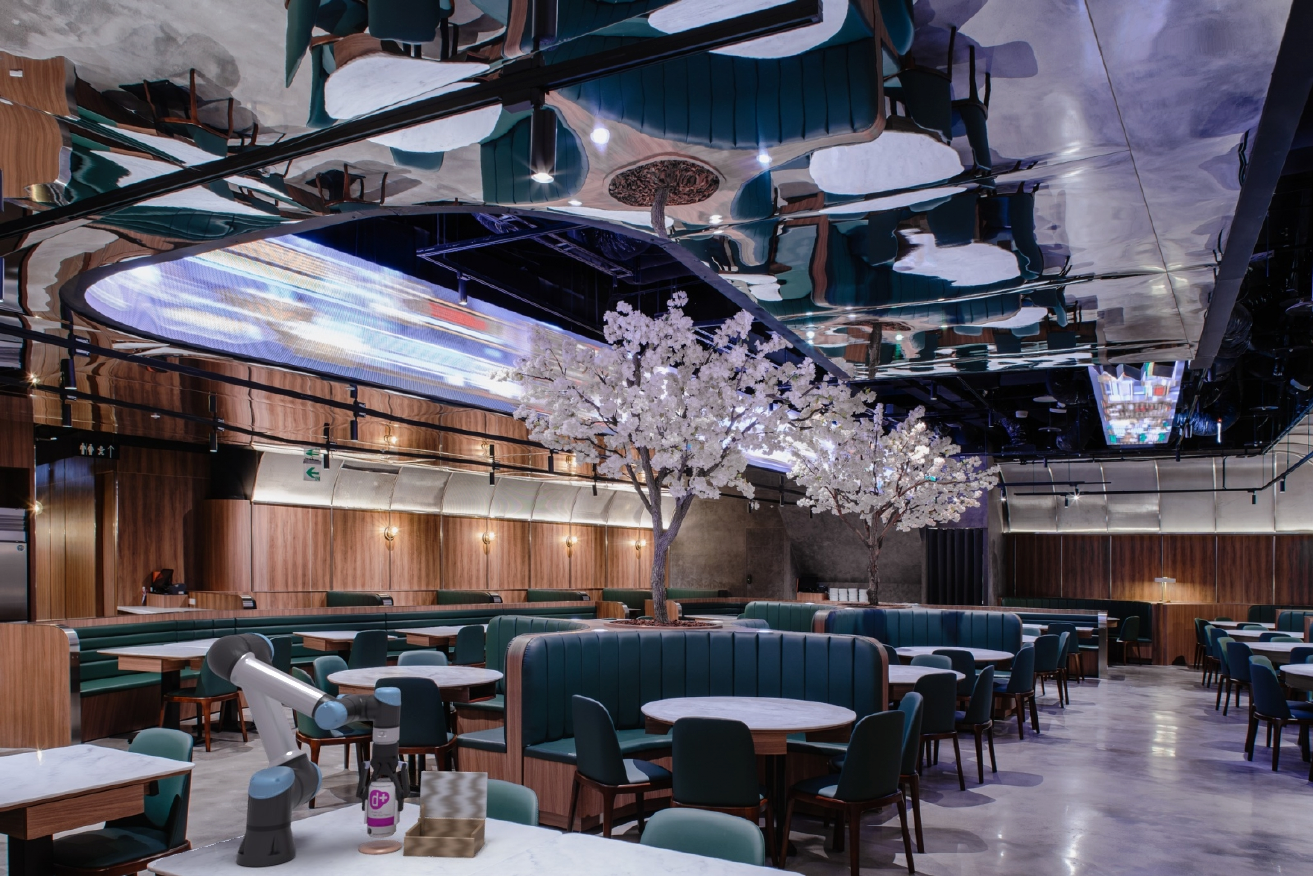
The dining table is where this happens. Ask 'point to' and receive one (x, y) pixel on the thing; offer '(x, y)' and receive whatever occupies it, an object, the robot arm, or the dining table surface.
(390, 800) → the supplement can
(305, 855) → the dining table surface
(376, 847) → the saucer
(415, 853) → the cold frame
